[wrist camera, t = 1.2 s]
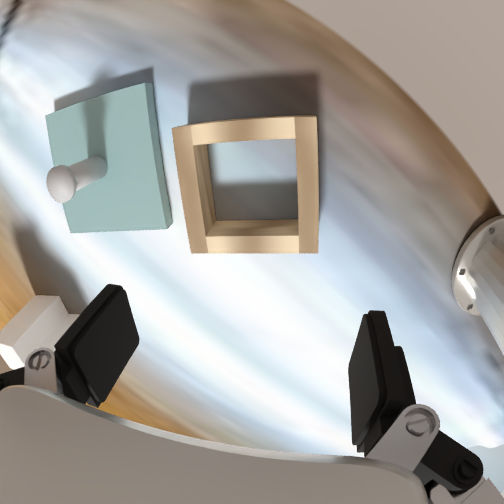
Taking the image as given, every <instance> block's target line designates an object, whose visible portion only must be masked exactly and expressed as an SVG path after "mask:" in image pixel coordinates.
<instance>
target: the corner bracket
mask: <svg viewBox="0 0 504 504" xmlns="http://www.w3.org/2000/svg"><path fill="white" fill-rule="evenodd" d="M79 315H80V314H68V312H67V310H66V308H65V306H64V304H63V302H62V300H61V298H60V296H45V295H35V296H34V297H33V298H32V299H31V300H30V301H29V302H28V303H27V304H26V305H25V306H24V307H23V308H22V309H21V310H20V311H19V312H18V313H17V314H16V315H15V316H14V317H13V318H12V319H11V320H10V321H9V322H8V323H7V324H6V326H5V327H4V328H3V329H2V330H1V331H0V354H1V356H2V357H3V359H4V360H5V361H6V363H7V364H8V365H9V367H10V368H12V369H14V370H15V369H18V368H21V367H24V366H25V361H26V358H27V357H28V355H29V354H30V353H31V352H33V351H34V350H36V349H38V348H49V349H51V350H52V351H53V352H54V351H55V350H56V349H55V347H54V345H55V344H56V343H57V341H58V340H59V339H60V338H61V337H62V335H63V334H64V333H65V332H66V331H67V329H68V328H69V327H70V326H71V325H72V324H73V322H74V321H75V320H76V319H77V318H78V317H79Z"/></svg>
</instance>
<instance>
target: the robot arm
mask: <svg viewBox="0 0 504 504" xmlns="http://www.w3.org/2000/svg"><path fill="white" fill-rule="evenodd" d="M451 280H452V291H453V295H454V297H455V299H456V301H457V303H458V304H459V305H460V307H461V308H462V309H463V310H464V311H465V312H467V313H470V314H472V315H481V316H482V318H483V319H484V321H485V323H486V324H487V326H488V328H489V330H490V331H491V333H492V335H493V337H494V338H495V340H496V342H497V344H498V346H499V347H500V349H501V351H502V353H503V355H504V215H500V216H496V217H494V218H491V219H489V220H487V221H486V222H484V223H483V224H481V225H480V226H479V227H478V228H477V229H476V230H475V231H474V232H473V233H472V234H471V235H470V236H469V238H468V239H467V240H466V241H465V243H464V245H463V246H462V248H461V250H460V252H459V254H458V256H457V258H456V261H455V264H454V268H453V272H452V279H451ZM138 344H139V335H138V332H137V329H136V325H135V322H134V319H133V315H132V312H131V308H130V305H129V301H128V297H127V293H126V291H125V290H123V287H122V286H120V285H113V284H108V285H106V286H105V288H104V289H103V290H102V291H101V292H100V293H99V294H98V295H97V296H96V297H95V299H94V300H93V301H92V302H91V303H90V304H89V305H88V306H87V307H86V309H85V310H84V311H83V312H82V313H81V314H80V315H79V317H78V318H77V319H76V320H75V321H74V322H73V324H72V325H71V326H70V327H69V328H68V329H67V331H66V332H65V333H64V334H63V335H62V337H61V338H60V339H59V340H58V341H57V343H56V344H55V345H54V347H55V349H56V350H55V351H54V352H53V351H52V350H51V349H49V348H38V349H36V350H34V351H33V352H31V353H30V354H29V355H28V357H27V358H26V361H25V366H24V367H21V368H18V369H15V370H12V371H9V372H5V373H2V374H0V504H504V491H503V492H502V493H501V494H500V492H499V491H498V490H497V488H496V487H495V486H494V485H493V483H492V482H491V481H490V479H489V478H488V479H486V480H485V478H484V477H483V476H482V475H483V464H482V462H481V460H480V458H479V457H478V456H477V455H475V454H474V453H472V452H471V451H469V450H468V449H466V448H465V447H463V446H462V445H460V444H459V443H458V442H456V441H455V440H453V439H452V438H450V437H449V436H447V435H446V434H444V433H443V432H441V431H440V430H439V428H440V420H439V417H438V415H437V414H436V412H435V411H434V410H433V409H431V408H430V407H428V406H426V405H422V404H416V400H415V396H414V391H413V387H412V383H411V379H410V375H409V371H408V367H407V363H406V359H405V355H404V352H403V349H402V347H401V346H394V342H393V339H392V335H391V331H390V328H389V324H388V320H387V317H386V313H385V311H374V310H370V311H369V312H368V314H364V315H363V318H362V321H361V325H360V328H359V332H358V336H357V339H356V342H355V346H354V349H353V352H352V356H351V359H350V362H349V367H348V374H349V388H350V405H351V426H352V444H353V445H357V452H364V457H365V458H363V457H354V456H337V455H319V454H303V453H291V452H281V451H271V450H262V449H254V448H247V447H240V446H234V445H228V444H223V443H217V442H212V441H207V440H202V439H197V438H193V437H188V436H184V435H180V434H176V433H172V432H168V431H164V430H160V429H157V428H153V427H150V426H146V425H143V424H140V423H136V422H133V421H130V420H127V419H124V418H121V417H118V416H115V415H112V414H109V413H106V412H104V411H101V410H98V409H96V408H93V407H90V406H88V405H85V404H86V402H87V403H88V404H89V405H91V406H94V407H97V408H98V407H99V405H100V404H101V402H104V401H105V400H106V398H107V396H108V395H109V393H110V391H111V390H112V388H113V386H114V384H115V383H116V381H117V379H118V378H119V376H120V374H121V373H122V371H123V369H124V368H125V366H126V364H127V363H128V361H129V359H130V358H131V356H132V354H133V353H134V351H135V349H136V348H137V346H138Z"/></svg>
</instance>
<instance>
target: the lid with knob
mask: <svg viewBox="0 0 504 504" xmlns="http://www.w3.org/2000/svg"><path fill="white" fill-rule="evenodd" d="M46 122H47V129H48V136H49V142H50V148H51V154H52V159H53V164H54V167H53V168H52V169H51V170H50V171H49V173H48V175H47V188H48V191H49V193H50V195H51V197H52V198H53V199H54V200H55V201H57V202H59V203H62V204H63V208H64V211H65V215H66V219H67V222H68V226H69V229H70V233H85V232H107V231H130V230H158V229H168V227H169V226H170V225H171V224H172V217H171V212H170V206H169V201H168V195H167V189H166V183H165V177H164V170H163V164H162V157H161V150H160V143H159V136H158V128H157V120H156V112H155V104H154V94H153V85H152V83H142V84H138V85H134V86H130V87H127V88H123V89H120V90H116V91H113V92H110V93H106V94H103V95H100V96H97V97H94V98H91V99H88V100H85V101H82V102H79V103H77V104H74V105H71V106H69V107H66V108H63V109H61V110H58V111H56V112H53V113H51V114H48V115H46Z"/></svg>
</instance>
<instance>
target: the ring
mask: <svg viewBox="0 0 504 504" xmlns="http://www.w3.org/2000/svg"><path fill="white" fill-rule="evenodd" d="M172 134H173V142H174V149H175V157H176V164H177V171H178V178H179V184H180V191H181V197H182V203H183V209H184V215H185V221H186V227H187V233H188V238H189V244H190V249H191V253H318V234H319V182H318V141H317V118H316V116H314V115H297V116H270V117H254V118H240V119H229V120H219V121H210V122H201V123H194V124H187V125H183V126H178V127H174V128H172ZM267 139H296V160H297V185H298V219H279V220H225V221H216V214H215V207H214V199H213V191H212V183H211V175H210V166H209V158H208V149H207V144H211V143H222V142H234V141H248V140H267Z"/></svg>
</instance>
